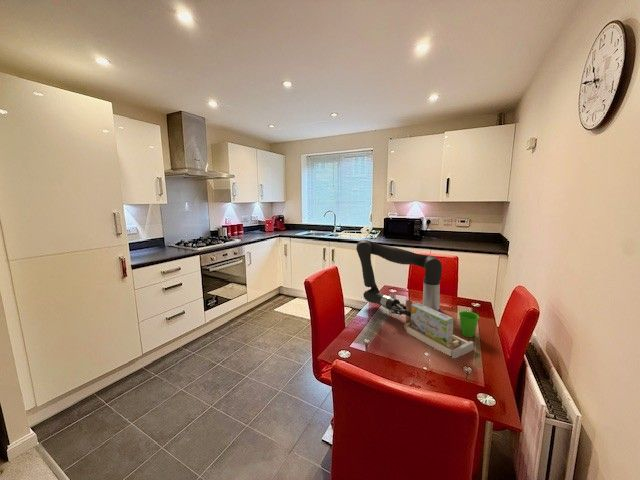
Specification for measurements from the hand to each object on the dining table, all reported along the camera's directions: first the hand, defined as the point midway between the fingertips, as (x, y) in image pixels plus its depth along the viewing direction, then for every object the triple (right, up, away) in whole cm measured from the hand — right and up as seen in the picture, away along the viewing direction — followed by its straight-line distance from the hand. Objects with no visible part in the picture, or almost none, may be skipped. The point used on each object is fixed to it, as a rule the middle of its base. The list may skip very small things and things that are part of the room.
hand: (413, 313), depth 142 cm
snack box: (+5, -10, -10) cm, 15 cm away
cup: (+25, -9, -8) cm, 28 cm away
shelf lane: (+8, -10, -12) cm, 18 cm away
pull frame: (+5, -9, -7) cm, 12 cm away
